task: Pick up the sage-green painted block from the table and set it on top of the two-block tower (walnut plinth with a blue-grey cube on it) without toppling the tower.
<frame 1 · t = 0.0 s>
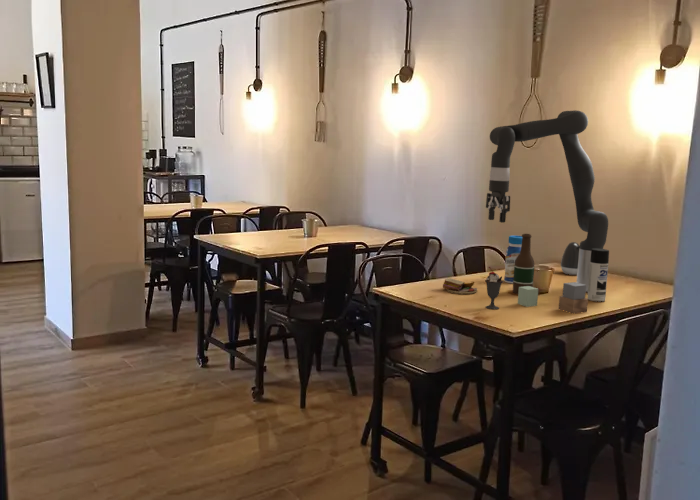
hand: (496, 221, 264), 29 cm above the table, tool pointing down, fingers open, 8 cm apart
sundae: (491, 308, 246), on the table
toy sandwich meal: (459, 292, 272), on the table
spray can: (595, 300, 265), on the table
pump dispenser: (571, 274, 317), on the table
beer bottle: (522, 293, 273), on the table
beverage bottle: (513, 282, 294), on the table
cube: (573, 297, 246), point 5 cm above the table
plinth: (572, 310, 246), on the table
block: (527, 304, 253), on the table
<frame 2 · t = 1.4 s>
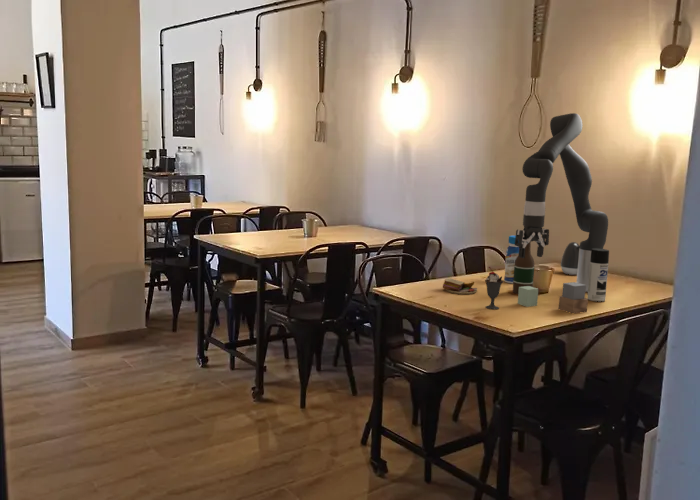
hand: (530, 257, 250), 18 cm above the table, tool pointing down, fingers open, 8 cm apart
cube: (573, 297, 246), point 5 cm above the table, touching plinth
plinth: (572, 311, 246), on the table, touching cube
everything else where it was.
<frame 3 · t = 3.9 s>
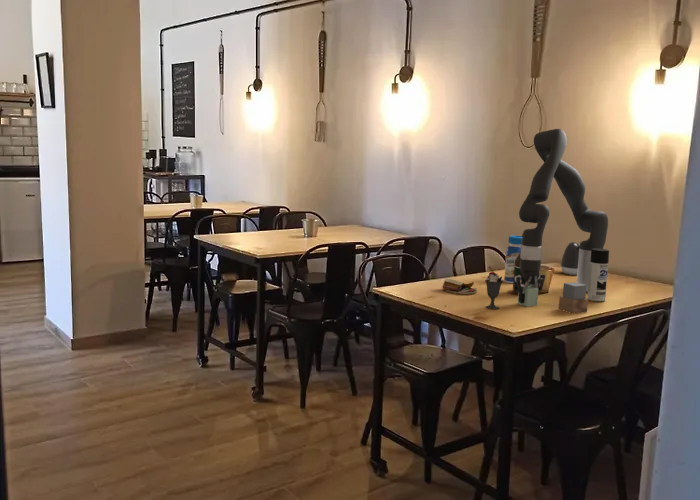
hand: (527, 302, 253), 1 cm above the table, tool pointing down, fingers closed on block, 5 cm apart
block: (527, 304, 253), on the table, touching gripper
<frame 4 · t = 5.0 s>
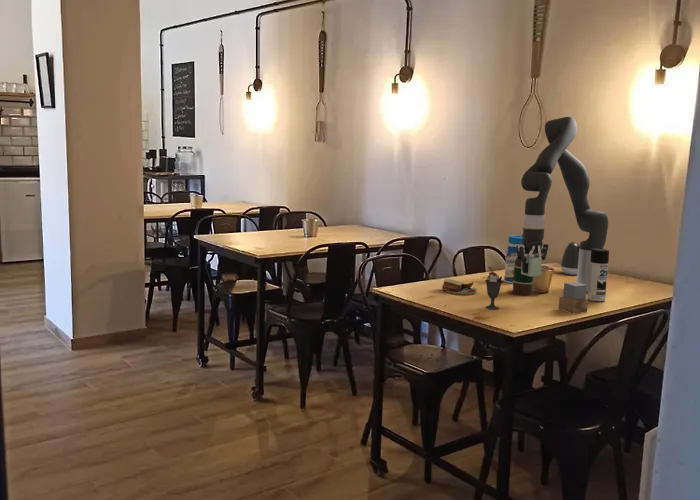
hand: (531, 272, 251), 12 cm above the table, tool pointing down, fingers closed on block, 5 cm apart
cube: (574, 297, 246), point 5 cm above the table
plinth: (572, 310, 246), on the table
block: (530, 274, 251), point 11 cm above the table, touching gripper
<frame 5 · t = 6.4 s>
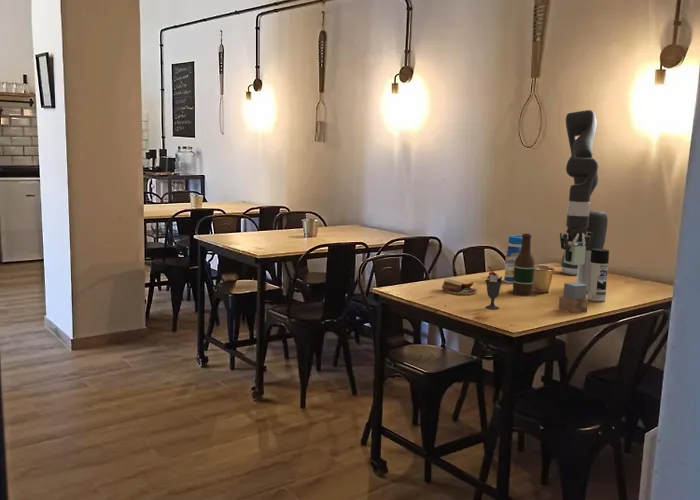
hand: (574, 260, 244), 18 cm above the table, tool pointing down, fingers closed on block, 5 cm apart
cube: (574, 297, 246), point 5 cm above the table, touching plinth
plinth: (572, 311, 246), on the table, touching cube
block: (573, 263, 244), point 17 cm above the table, touching gripper
when the fingers open (12 cm above the table, at t = 8.9 s): block stays where it is, resting on cube.
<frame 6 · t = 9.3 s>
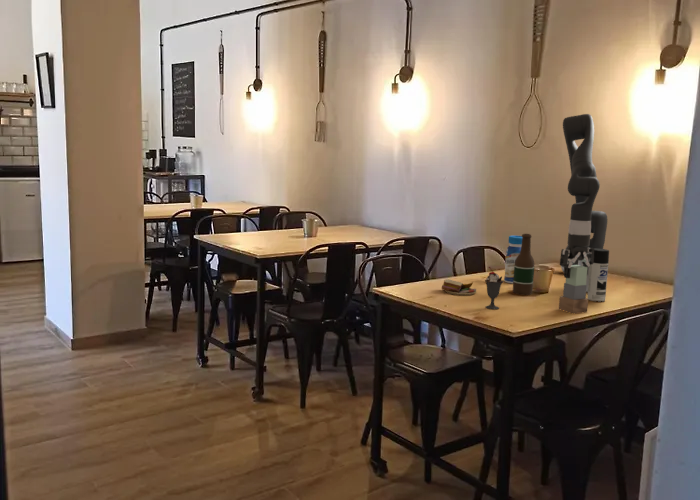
hand: (575, 277, 244), 12 cm above the table, tool pointing down, fingers open, 8 cm apart
cube: (574, 297, 246), point 5 cm above the table, touching block, plinth
block: (575, 284, 245), point 10 cm above the table, touching cube
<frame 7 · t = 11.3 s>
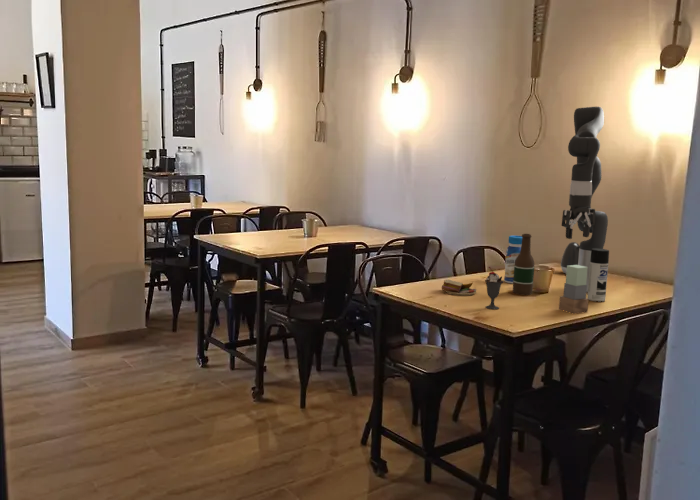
hand: (577, 237, 246), 26 cm above the table, tool pointing down, fingers open, 8 cm apart
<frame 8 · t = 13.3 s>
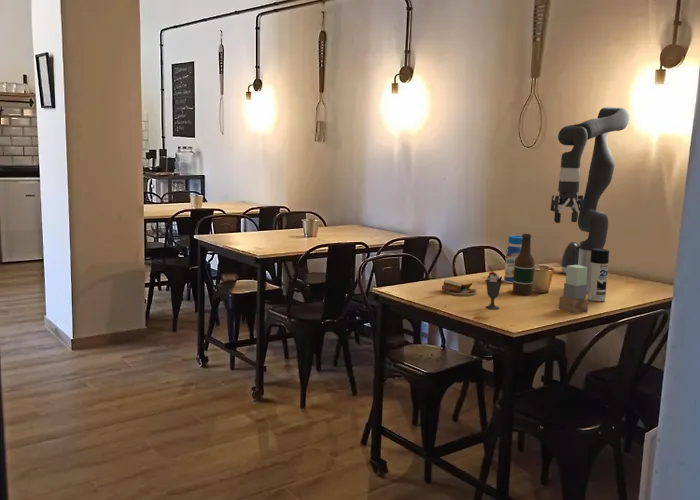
hand: (565, 222, 259), 30 cm above the table, tool pointing down, fingers open, 8 cm apart
at the end: block 0.3 cm off-centre on the plinth, point 10.0 cm above the plinth's base; cube tilted 0°; block tilted 0° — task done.
